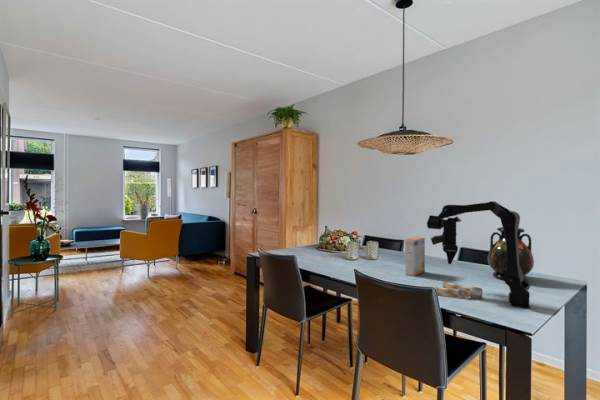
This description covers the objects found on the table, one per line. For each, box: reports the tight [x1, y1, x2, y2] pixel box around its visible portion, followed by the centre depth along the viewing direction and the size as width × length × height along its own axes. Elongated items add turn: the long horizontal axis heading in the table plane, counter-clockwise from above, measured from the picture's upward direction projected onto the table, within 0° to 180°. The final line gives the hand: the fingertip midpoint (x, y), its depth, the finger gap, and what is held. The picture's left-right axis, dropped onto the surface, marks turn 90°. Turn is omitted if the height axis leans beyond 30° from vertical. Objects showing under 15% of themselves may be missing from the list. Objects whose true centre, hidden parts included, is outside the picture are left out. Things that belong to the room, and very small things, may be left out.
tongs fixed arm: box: [434, 286, 470, 300], centre depth 147 cm, size 14×3×4 cm, turn 65°
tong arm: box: [442, 281, 483, 300], centre depth 150 cm, size 18×5×4 cm, turn 35°
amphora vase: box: [487, 226, 535, 282], centre depth 178 cm, size 22×22×28 cm
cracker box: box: [404, 236, 426, 277], centre depth 188 cm, size 14×6×21 cm, turn 134°
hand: (449, 262), depth 156 cm, fingers open, 9 cm apart
